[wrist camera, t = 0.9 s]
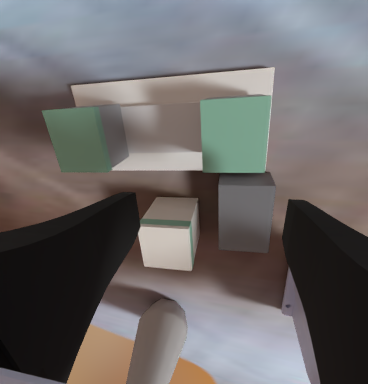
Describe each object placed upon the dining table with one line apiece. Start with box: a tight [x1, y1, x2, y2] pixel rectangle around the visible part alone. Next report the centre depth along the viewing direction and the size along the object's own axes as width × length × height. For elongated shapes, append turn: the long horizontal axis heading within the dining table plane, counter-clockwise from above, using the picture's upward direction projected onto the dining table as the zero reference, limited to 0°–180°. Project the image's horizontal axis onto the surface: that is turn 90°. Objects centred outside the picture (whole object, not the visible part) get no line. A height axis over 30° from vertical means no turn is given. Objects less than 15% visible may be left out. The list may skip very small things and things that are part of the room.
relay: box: [218, 172, 276, 253], centre depth 19 cm, size 6×4×3 cm, turn 4°
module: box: [138, 197, 200, 271], centre depth 19 cm, size 4×4×5 cm
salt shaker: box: [126, 298, 188, 384], centre depth 22 cm, size 6×6×13 cm
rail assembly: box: [42, 67, 275, 173], centre depth 16 cm, size 7×15×5 cm, turn 94°
